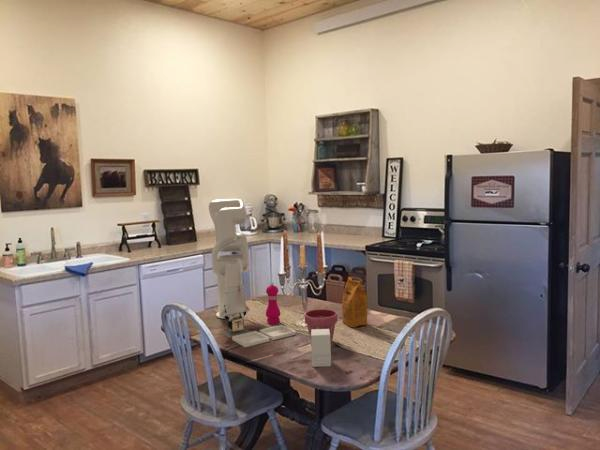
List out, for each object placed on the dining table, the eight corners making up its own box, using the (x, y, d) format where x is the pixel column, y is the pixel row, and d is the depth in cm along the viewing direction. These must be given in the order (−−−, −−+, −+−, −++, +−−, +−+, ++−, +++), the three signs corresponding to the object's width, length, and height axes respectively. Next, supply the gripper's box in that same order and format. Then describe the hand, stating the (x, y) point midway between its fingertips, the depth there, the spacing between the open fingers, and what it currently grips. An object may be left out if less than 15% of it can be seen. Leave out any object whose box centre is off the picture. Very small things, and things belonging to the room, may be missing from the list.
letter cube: (228, 328, 239) (228, 318, 238) (238, 326, 241) (237, 316, 241) (233, 331, 234) (233, 320, 234) (243, 329, 237) (242, 318, 237)
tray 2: (259, 334, 236) (259, 329, 236) (281, 328, 243) (281, 324, 242) (273, 341, 226) (273, 336, 226) (296, 335, 233) (295, 331, 233)
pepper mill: (278, 324, 249) (277, 284, 246) (264, 324, 250) (262, 284, 248) (282, 320, 256) (280, 280, 253) (268, 319, 257) (266, 280, 255)
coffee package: (357, 318, 254) (356, 275, 252) (370, 325, 243) (369, 280, 240) (339, 321, 251) (338, 277, 248) (351, 329, 239) (350, 282, 237)
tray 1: (232, 340, 228) (232, 336, 228) (255, 335, 235) (255, 330, 235) (245, 348, 218) (244, 343, 218) (269, 342, 225) (269, 337, 225)
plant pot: (314, 334, 233) (313, 307, 232) (343, 338, 227) (342, 310, 225) (299, 344, 221) (298, 315, 219) (329, 349, 214) (328, 319, 212)
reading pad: (219, 333, 239) (219, 332, 239) (242, 327, 246) (242, 326, 246) (229, 339, 231) (229, 337, 231) (252, 333, 237) (252, 332, 237)
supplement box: (330, 359, 203) (330, 328, 202) (331, 366, 196) (330, 334, 194) (312, 359, 204) (311, 328, 202) (311, 367, 196) (310, 335, 195)
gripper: (246, 284, 243) (248, 321, 246) (213, 290, 234) (215, 329, 236) (254, 287, 237) (255, 325, 240) (220, 293, 228) (222, 333, 230)
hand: (235, 327), depth 238 cm, fingers closed on letter cube, 4 cm apart
